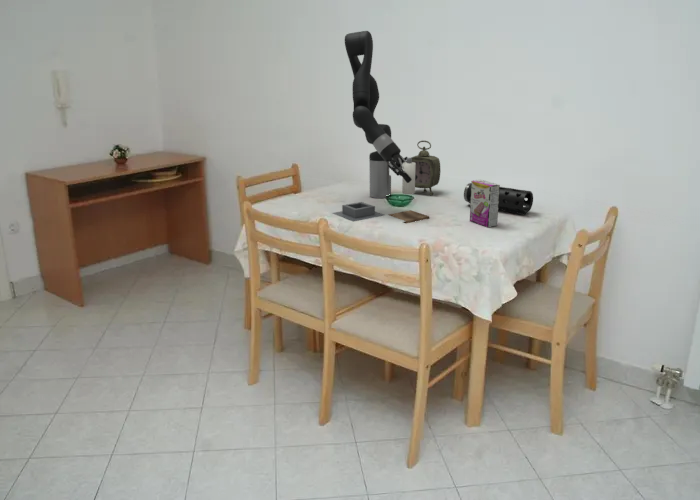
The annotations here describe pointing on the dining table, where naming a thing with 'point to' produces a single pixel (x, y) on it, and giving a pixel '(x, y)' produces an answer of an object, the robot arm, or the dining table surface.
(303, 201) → the dining table surface
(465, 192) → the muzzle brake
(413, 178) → the bottle
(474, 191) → the candy bar box
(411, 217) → the walnut board
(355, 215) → the socket block
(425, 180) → the tabletop clock
